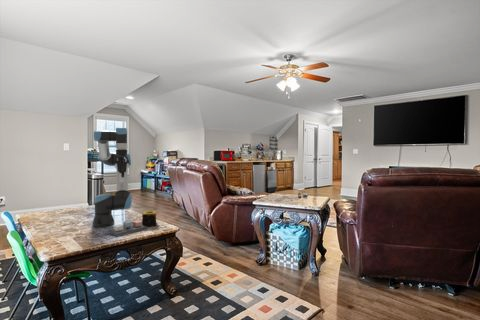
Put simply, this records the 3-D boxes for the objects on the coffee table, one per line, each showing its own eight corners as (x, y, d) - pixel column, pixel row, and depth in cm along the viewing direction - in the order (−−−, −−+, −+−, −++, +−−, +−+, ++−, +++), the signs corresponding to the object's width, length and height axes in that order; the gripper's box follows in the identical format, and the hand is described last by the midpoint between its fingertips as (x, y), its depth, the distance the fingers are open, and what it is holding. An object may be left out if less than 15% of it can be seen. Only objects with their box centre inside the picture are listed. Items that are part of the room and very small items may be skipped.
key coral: (132, 228, 199) (132, 221, 199) (138, 227, 203) (138, 220, 202) (136, 229, 196) (136, 222, 196) (141, 228, 200) (141, 221, 199)
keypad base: (108, 232, 189) (108, 229, 189) (138, 226, 206) (138, 223, 206) (116, 236, 182) (116, 233, 182) (146, 229, 199) (146, 226, 199)
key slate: (123, 228, 194) (123, 221, 193) (129, 227, 197) (129, 220, 197) (126, 229, 191) (126, 222, 191) (132, 228, 194) (132, 221, 194)
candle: (141, 227, 203) (141, 214, 202) (142, 223, 213) (142, 211, 212) (156, 226, 206) (156, 213, 205) (156, 223, 215) (156, 210, 215)
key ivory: (113, 232, 188) (113, 225, 188) (120, 231, 192) (120, 224, 192) (116, 234, 185) (116, 227, 185) (123, 232, 189) (123, 225, 189)
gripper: (112, 149, 198) (112, 181, 199) (120, 149, 190) (121, 183, 191) (122, 149, 204) (122, 180, 205) (131, 149, 196) (131, 182, 197)
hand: (122, 181), depth 198 cm, fingers closed
